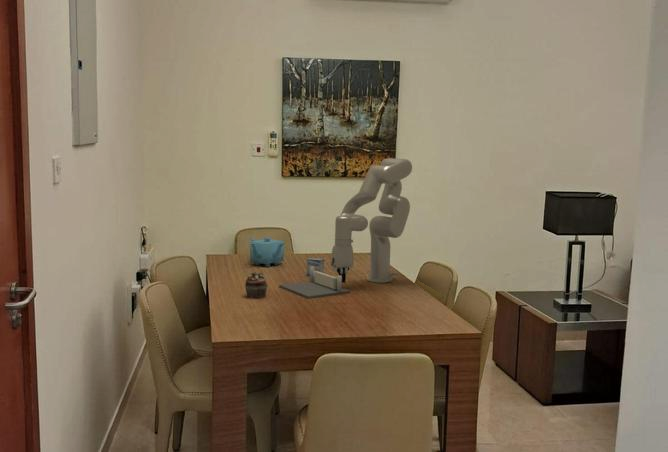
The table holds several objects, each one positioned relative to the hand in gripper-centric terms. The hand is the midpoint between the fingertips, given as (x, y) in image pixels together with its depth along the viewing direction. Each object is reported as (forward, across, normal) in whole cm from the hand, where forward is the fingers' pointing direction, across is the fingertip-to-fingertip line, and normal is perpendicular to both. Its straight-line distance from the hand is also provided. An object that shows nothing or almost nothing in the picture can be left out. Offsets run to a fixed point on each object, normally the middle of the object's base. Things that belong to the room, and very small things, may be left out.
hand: (342, 282), depth 295 cm
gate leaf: (+1, +8, -2) cm, 8 cm away
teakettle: (+3, +5, -65) cm, 65 cm away
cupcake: (+3, +42, -5) cm, 42 cm away
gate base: (+3, +14, -2) cm, 14 cm away
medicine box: (+3, -3, -28) cm, 28 cm away
